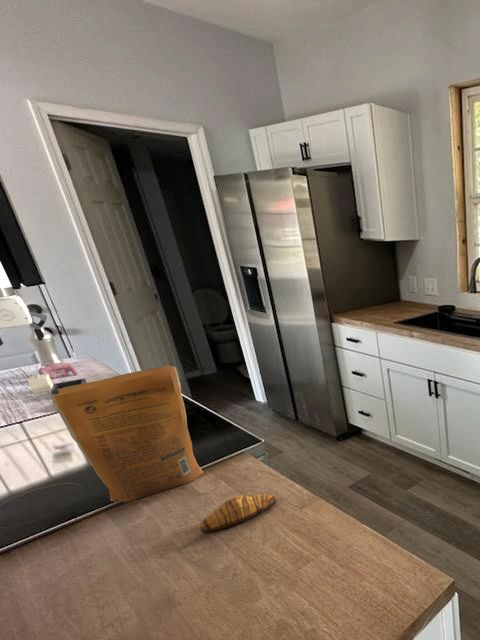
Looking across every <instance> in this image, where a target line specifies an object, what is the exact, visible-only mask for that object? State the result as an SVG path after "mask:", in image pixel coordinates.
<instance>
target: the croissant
mask: <svg viewBox="0 0 480 640" xmlns="http://www.w3.org/2000/svg"><path fill="white" fill-rule="evenodd" d="M276 503H277V497H276V496H275V495H274V494H269V493H259V494H250V495H246V494H241V495H237V496H233V497H231V498H229V499H228V500H226V501H224V502H223V504H222V505H221V506H219V507H218V508H216V509H215V510H214V511H212V512H211V513H209V515H207V516H206V517H205V518H204V519H203V520H202V522H200V523H199V531H201V532H202V534H205V533H212V532H215V531H216V532H217V531H220V530H224V529H226V528H229V527H231V526H235V525H238V524H241V523H244V522H246V521H248V520H250V519H251V518H253V517H255V516H257V515H259V514H261V513H263V512H265V511H266V510H268V509H270V508H271V507H272V506H274V505H275V504H276Z"/></svg>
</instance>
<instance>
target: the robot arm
mask: <svg viewBox="0 0 480 640" xmlns="http://www.w3.org/2000/svg"><path fill="white" fill-rule="evenodd" d="M34 317H35V318H38V319H39V322H38V323H37V322H36V321H35V320H34ZM47 318H48V316H47V315H46V314H43V313H39V312H33V311H30V309H29V308H28V306H27V305H26V303H25V302H24V300H23V299H22V297H21V296H20V295H17V294H16V292H15V290H14V288H13V285H12V283H11V281H10V279H9V277H8V274H7V273H6V271H5V268H4V266H3V264H2V262H1V261H0V329H10V328H18V327H26V326H28V327H29V326H31V327H33V328H35V330H34V331H35V333H36V336H37V338H38V340H42V339H43V337H44V334H43V332H42V330H41V327H42V326H44V325H45V324H46V321H47ZM2 345H4V342H3V340H2V338H1V337H0V347H1V346H2Z"/></svg>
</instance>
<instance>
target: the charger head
mask: <svg viewBox="0 0 480 640" xmlns="http://www.w3.org/2000/svg"><path fill="white" fill-rule="evenodd" d="M27 382H28V385H29V387H30V389H31V392H32V393H33V394H40V393H41V394H42V393H46V392H51V389H52V387H53V385H54V383H53V382H52V378H50V377H49V374H43V375H40V374H39V372H35V375H33V376H32V375H31V376H30V377H29V378H28V380H27Z"/></svg>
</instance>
